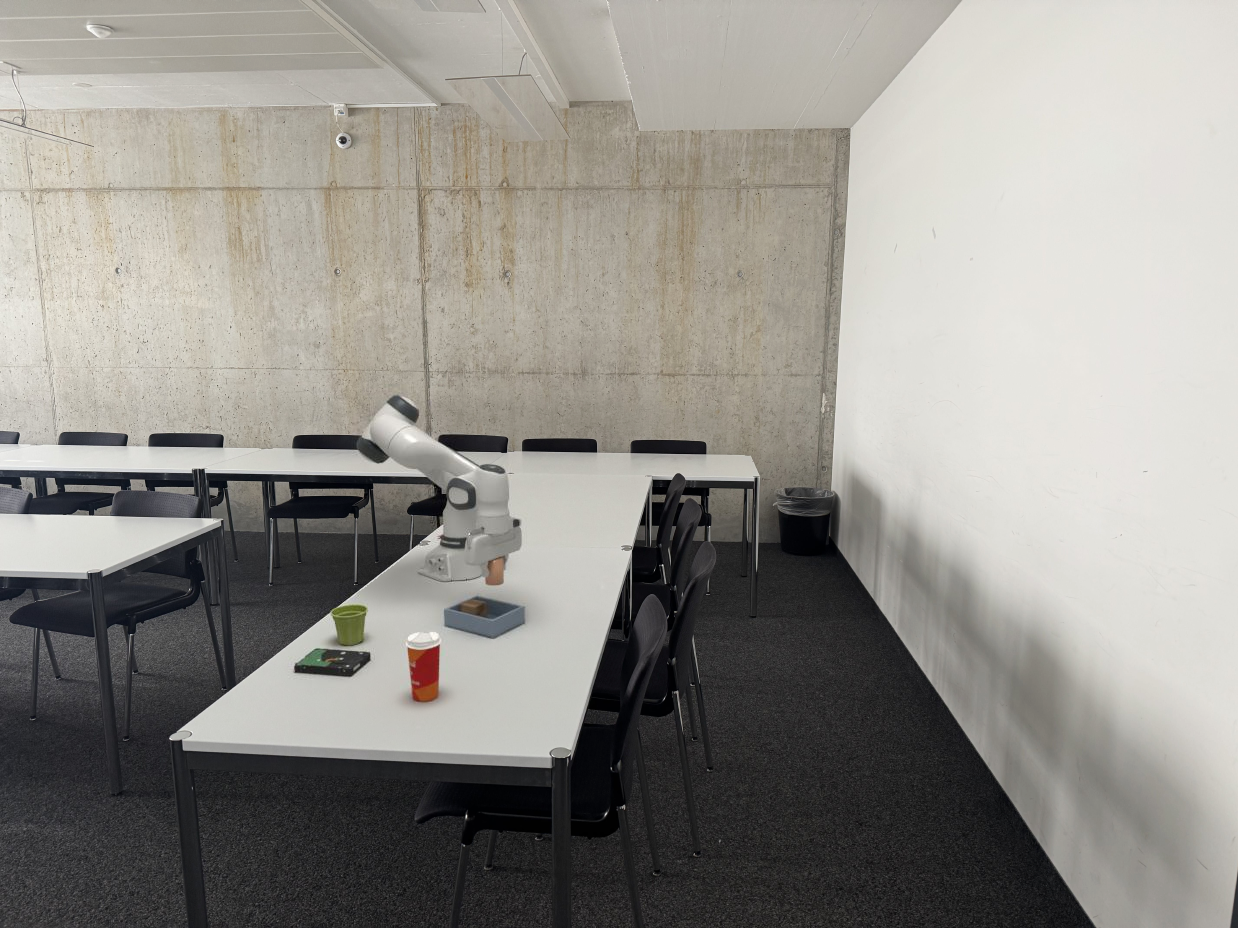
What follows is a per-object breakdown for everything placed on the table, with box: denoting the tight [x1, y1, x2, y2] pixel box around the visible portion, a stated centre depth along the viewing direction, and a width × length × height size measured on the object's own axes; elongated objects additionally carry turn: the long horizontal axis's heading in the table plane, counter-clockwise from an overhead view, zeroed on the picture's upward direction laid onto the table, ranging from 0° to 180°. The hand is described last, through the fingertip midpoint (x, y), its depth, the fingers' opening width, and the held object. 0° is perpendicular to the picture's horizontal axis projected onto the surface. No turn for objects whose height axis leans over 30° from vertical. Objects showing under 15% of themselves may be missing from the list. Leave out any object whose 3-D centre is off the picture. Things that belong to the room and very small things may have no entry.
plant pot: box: [329, 604, 369, 646], centre depth 206 cm, size 9×9×9 cm
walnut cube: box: [461, 599, 487, 618], centre depth 220 cm, size 5×5×5 cm
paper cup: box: [405, 631, 442, 703], centre depth 174 cm, size 8×8×14 cm
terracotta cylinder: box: [484, 557, 505, 587], centre depth 214 cm, size 5×5×7 cm
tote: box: [443, 595, 526, 640], centre depth 218 cm, size 18×14×5 cm
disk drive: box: [293, 647, 372, 678], centre depth 191 cm, size 10×3×15 cm
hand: (494, 573), depth 214 cm, fingers closed on terracotta cylinder, 5 cm apart
